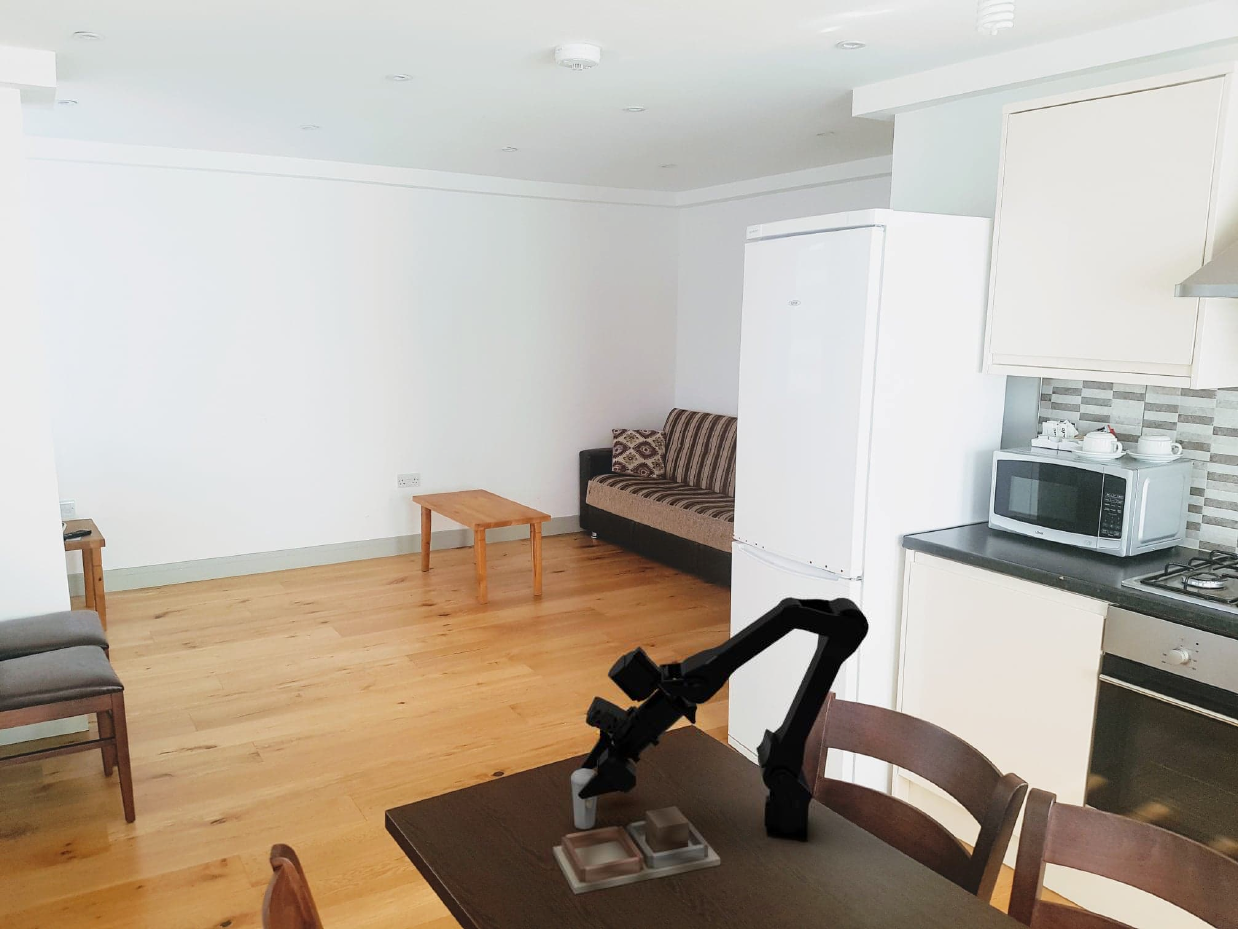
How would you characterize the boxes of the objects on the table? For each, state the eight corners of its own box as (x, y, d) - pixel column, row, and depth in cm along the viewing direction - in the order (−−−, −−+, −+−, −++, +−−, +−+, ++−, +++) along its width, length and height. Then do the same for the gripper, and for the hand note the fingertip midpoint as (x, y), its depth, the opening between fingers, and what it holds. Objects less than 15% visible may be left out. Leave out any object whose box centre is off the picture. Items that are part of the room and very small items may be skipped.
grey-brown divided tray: (689, 828, 150) (690, 793, 150) (720, 864, 140) (721, 827, 139) (552, 853, 143) (553, 816, 142) (574, 894, 132) (575, 855, 131)
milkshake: (607, 828, 150) (608, 769, 149) (575, 834, 148) (576, 774, 147) (597, 814, 154) (598, 757, 153) (566, 820, 152) (567, 762, 151)
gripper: (617, 663, 157) (551, 724, 159) (615, 708, 138) (540, 776, 140) (662, 709, 158) (596, 768, 160) (667, 759, 139) (592, 826, 141)
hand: (581, 782), depth 150 cm, fingers open, 9 cm apart
